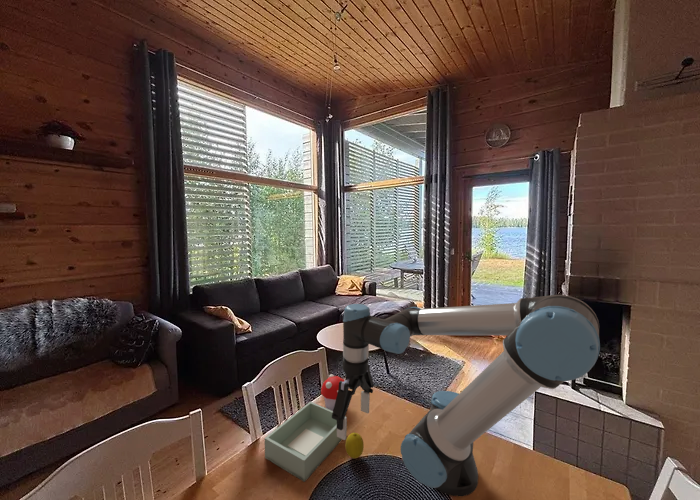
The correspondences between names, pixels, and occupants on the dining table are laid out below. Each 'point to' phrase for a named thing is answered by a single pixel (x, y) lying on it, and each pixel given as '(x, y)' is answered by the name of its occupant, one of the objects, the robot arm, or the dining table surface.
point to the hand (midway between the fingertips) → (353, 423)
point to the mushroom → (330, 390)
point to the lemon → (354, 445)
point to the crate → (303, 441)
